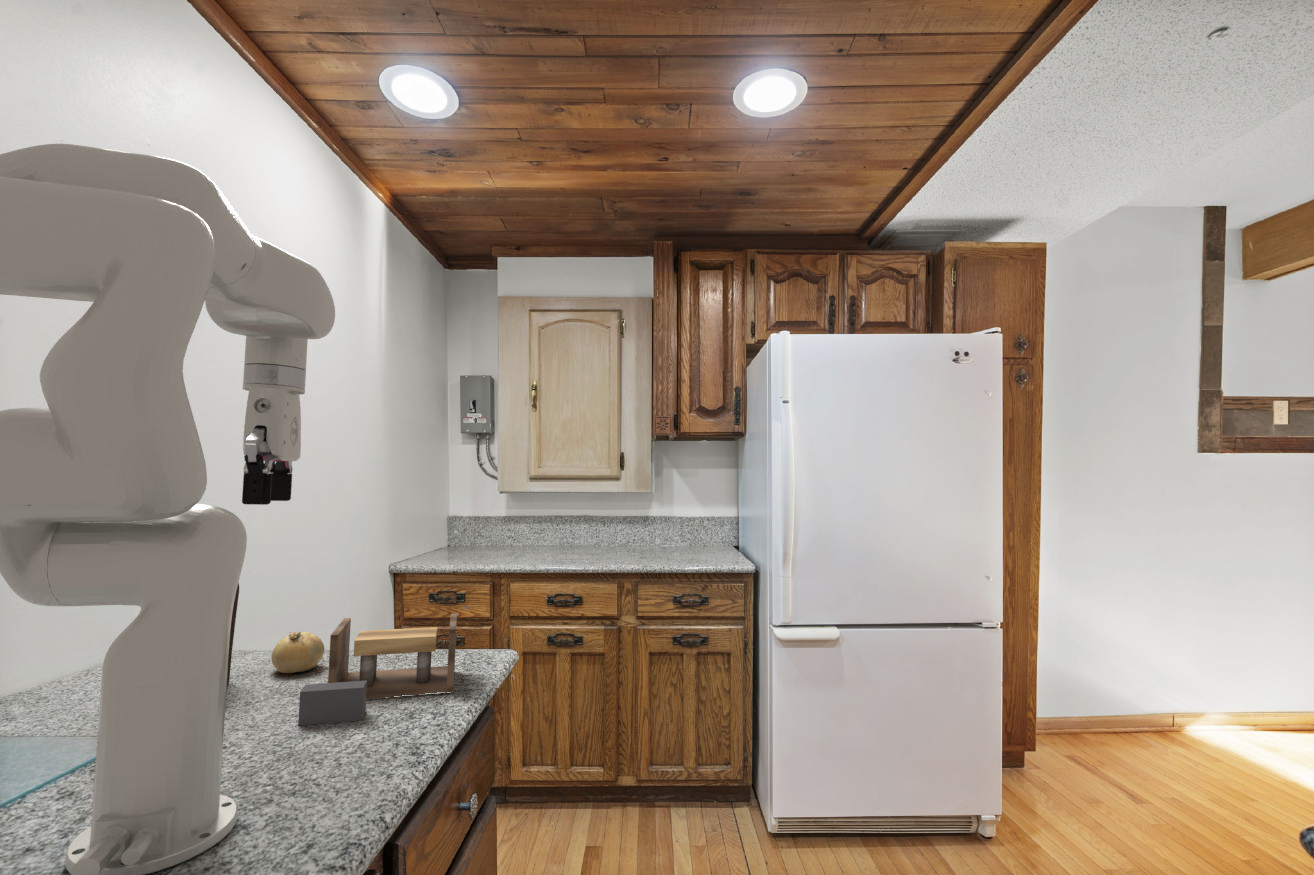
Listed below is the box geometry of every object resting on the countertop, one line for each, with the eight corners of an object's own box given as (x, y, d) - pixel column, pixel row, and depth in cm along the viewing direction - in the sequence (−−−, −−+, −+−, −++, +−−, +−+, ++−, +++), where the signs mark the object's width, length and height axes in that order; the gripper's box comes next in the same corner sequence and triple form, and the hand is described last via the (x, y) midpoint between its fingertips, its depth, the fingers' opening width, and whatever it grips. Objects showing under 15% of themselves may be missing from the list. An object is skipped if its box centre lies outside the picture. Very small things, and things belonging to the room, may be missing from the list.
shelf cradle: (453, 693, 98) (455, 629, 99) (326, 702, 93) (330, 635, 93) (454, 671, 109) (456, 613, 109) (341, 678, 103) (344, 618, 104)
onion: (265, 669, 108) (268, 627, 108) (316, 660, 113) (318, 621, 113) (276, 681, 102) (278, 637, 102) (329, 671, 107) (331, 630, 107)
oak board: (435, 651, 100) (436, 636, 100) (353, 656, 96) (354, 640, 97) (436, 641, 106) (437, 627, 106) (359, 645, 102) (360, 630, 102)
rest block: (362, 720, 87) (363, 687, 87) (298, 725, 85) (299, 691, 85) (365, 711, 90) (367, 680, 90) (303, 716, 88) (305, 684, 88)
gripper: (287, 374, 81) (280, 506, 80) (318, 390, 97) (312, 499, 96) (221, 370, 79) (212, 505, 78) (264, 387, 95) (257, 499, 94)
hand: (267, 502), depth 87 cm, fingers open, 9 cm apart
